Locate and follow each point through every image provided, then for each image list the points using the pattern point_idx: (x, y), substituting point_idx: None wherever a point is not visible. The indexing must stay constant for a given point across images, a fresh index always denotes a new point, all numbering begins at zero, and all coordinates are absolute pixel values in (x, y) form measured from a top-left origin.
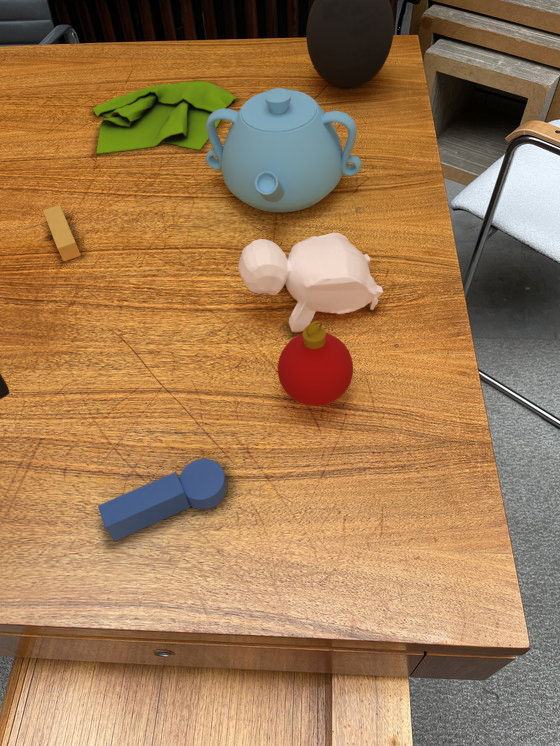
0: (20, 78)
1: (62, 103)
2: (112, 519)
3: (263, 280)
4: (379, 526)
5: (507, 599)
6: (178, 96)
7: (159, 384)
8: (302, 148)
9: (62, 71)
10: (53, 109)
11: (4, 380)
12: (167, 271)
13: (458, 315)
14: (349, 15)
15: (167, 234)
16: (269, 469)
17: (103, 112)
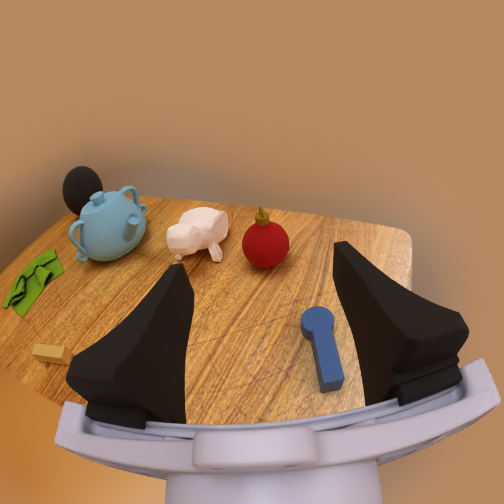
0: None
1: None
2: (339, 373)
3: (195, 238)
4: None
5: (396, 229)
6: (31, 269)
7: (213, 340)
8: (126, 204)
9: None
10: None
11: (333, 264)
12: (123, 311)
13: (252, 207)
14: (84, 177)
15: (97, 303)
16: (314, 292)
17: (8, 304)
